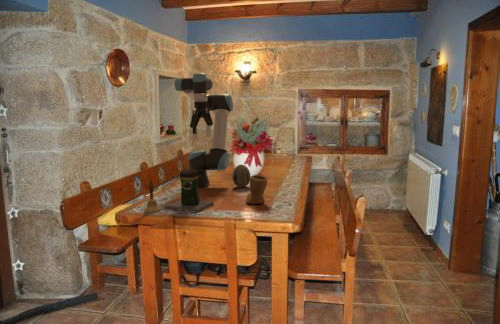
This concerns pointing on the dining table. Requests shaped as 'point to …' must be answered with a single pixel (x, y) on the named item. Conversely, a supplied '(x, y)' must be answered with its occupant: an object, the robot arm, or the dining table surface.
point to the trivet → (190, 206)
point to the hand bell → (151, 200)
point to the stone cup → (257, 189)
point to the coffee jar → (189, 187)
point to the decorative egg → (241, 176)
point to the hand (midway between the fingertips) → (202, 138)
